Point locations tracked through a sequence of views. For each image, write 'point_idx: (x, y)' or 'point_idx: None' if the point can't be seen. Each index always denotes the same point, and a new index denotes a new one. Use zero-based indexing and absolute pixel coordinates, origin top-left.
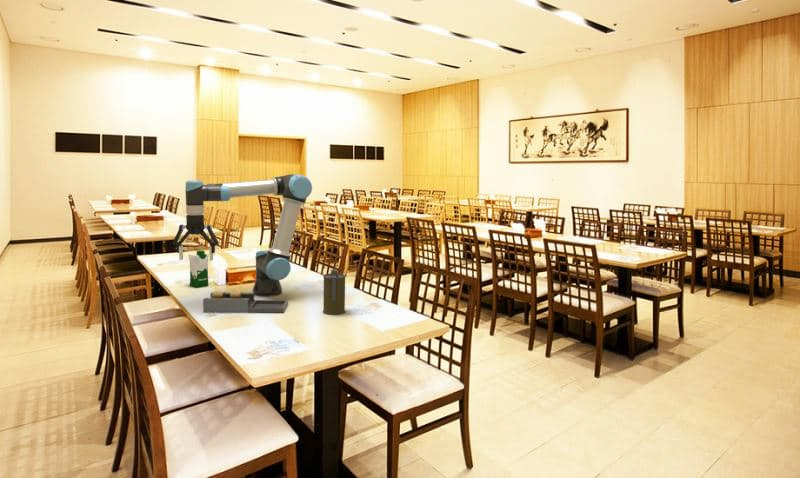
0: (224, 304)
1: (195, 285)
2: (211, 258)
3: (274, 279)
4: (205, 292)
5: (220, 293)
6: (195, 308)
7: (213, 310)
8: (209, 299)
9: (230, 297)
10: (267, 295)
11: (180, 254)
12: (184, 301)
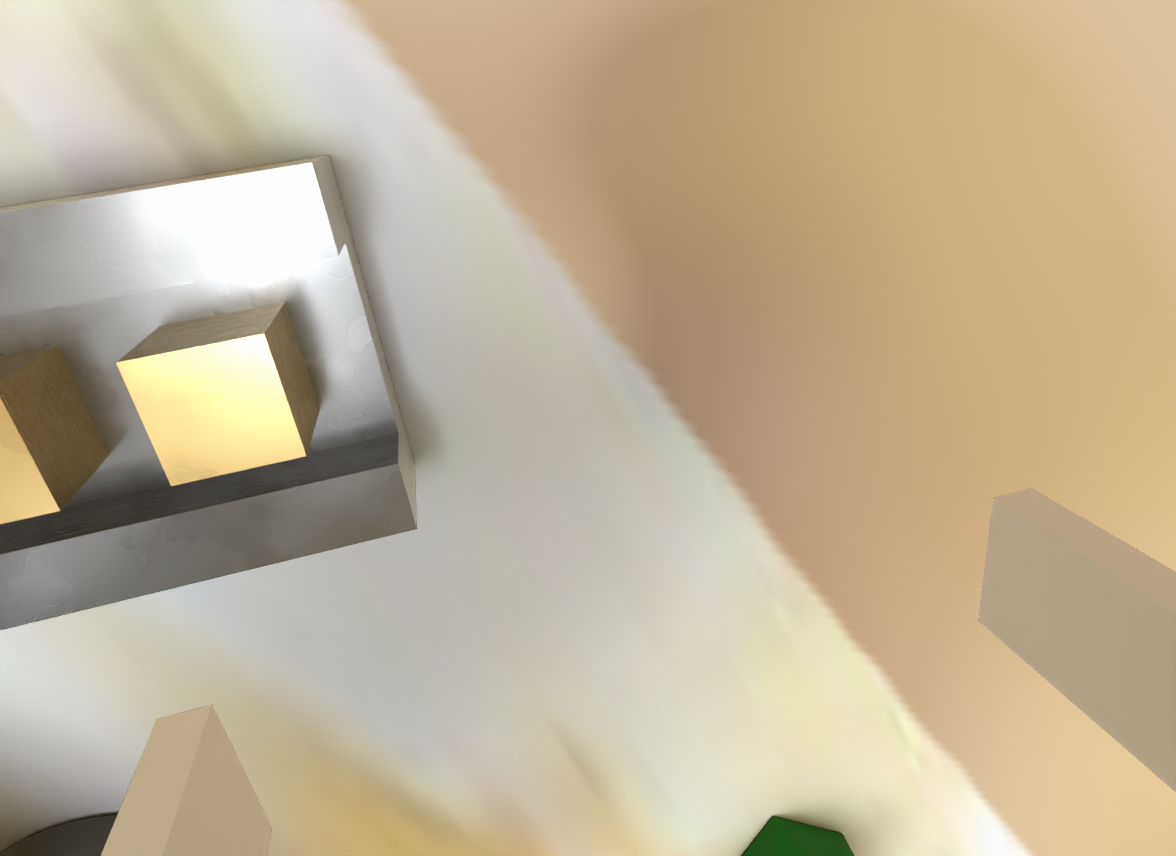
0: (25, 206)
1: (797, 833)
2: (143, 793)
3: None
4: (665, 751)
5: (161, 380)
6: (501, 291)
7: (205, 175)
8: (224, 184)
9: (14, 371)
10: (32, 842)
11: (1148, 586)
12: (712, 483)
